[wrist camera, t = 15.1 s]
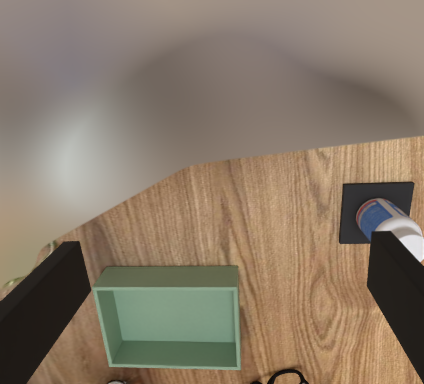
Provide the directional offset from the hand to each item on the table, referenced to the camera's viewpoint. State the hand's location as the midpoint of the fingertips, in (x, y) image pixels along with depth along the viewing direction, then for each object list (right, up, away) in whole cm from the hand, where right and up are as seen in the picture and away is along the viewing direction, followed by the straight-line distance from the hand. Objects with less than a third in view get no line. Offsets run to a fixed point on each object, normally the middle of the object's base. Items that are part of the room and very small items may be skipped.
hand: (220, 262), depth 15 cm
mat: (+22, 0, +31) cm, 38 cm away
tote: (-6, -16, +40) cm, 43 cm away
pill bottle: (+22, 0, +31) cm, 38 cm away
